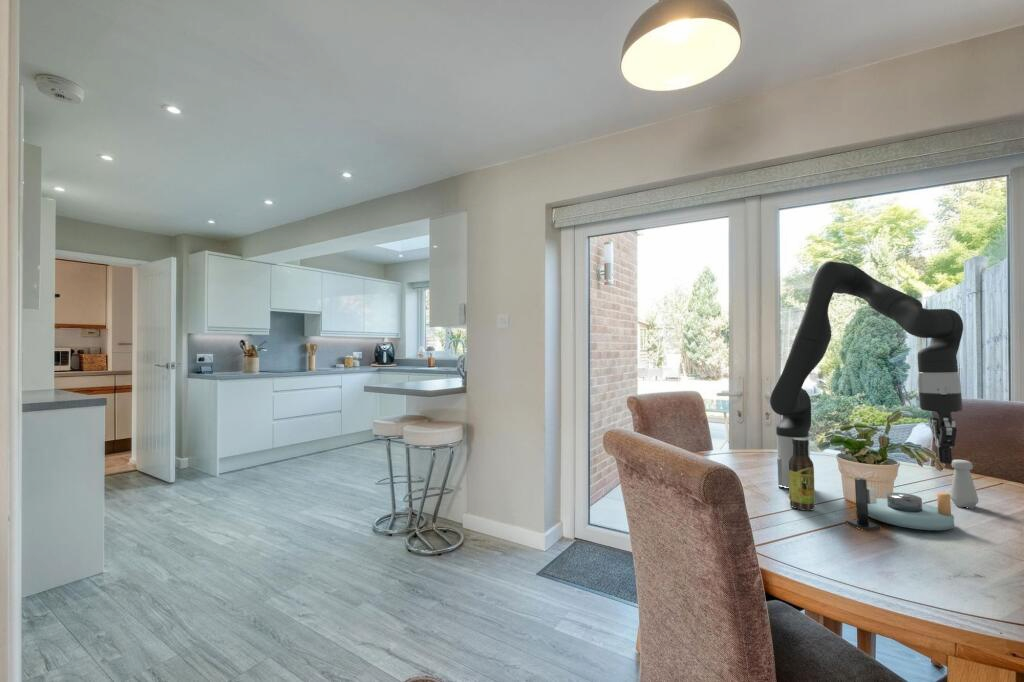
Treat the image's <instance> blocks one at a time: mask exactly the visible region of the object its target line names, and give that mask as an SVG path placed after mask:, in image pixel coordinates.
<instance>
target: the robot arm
mask: <svg viewBox="0 0 1024 682" xmlns="http://www.w3.org/2000/svg"><path fill="white" fill-rule="evenodd" d="M834 294H840V295H844V294H846V295H849V296H854V297H856V298H859V299H862V300H864V301H865V302H866V303H867V304H868V305H869V306H870V307H871V308H872V309H873V310H874V311H876V312H877V313H879V314H881V315H883V316H885V317H886V318H889V319H891V320H892V321H895V322H896V323H897V325H898V326H899V327H901V328H902V329H903V330H904V331H905V332H906V333H908V334H910V335H911V336H914V337H917V338H921V339H930V342H929V346H927V347H925V348H922V349H920V350H919V351H918V352H917V368H918V369H917V370H918V376H917V377H918V378H917V384H918V385H917V386H918V387H917V388H918V399H919V409H920V410H922V411H926V412H931V417H928V419H929V420H928V424H929V427H930V428H929V429H930V431H931V436H932V441H933V443H934V444H935V447H936V449H937V451H936V452H937V461H938V462H939V463H940V464H944V465H945V464H946V465H952V461H953V456H952V449H953V448H954V447H955V443H956V438H957V431H958V429H957V427H956V420H955V419H954V418H952V413H957V412H962V410H963V398H962V396H963V395H962V386H961V379H960V376H959V375H960V374H959V367H958V365H959V364H958V356H957V355H958V350H959V349H960V344H961V340H962V337H963V331H964V322H963V320H962V317H961V315H960V314H959V313H958V312H957V311H955V310H954V309H951V308H934V309H933V308H932V309H931V308H930V309H929V308H923V306H924V305H923V304H922V302H921V301H920V300H919V299H918V298H915V297H914V296H911V295H909V294H907V293H904V292H902V291H900V290H897V289H896V288H893V287H892V286H889V285H887V284H884V283H882V282H880V281H878V280H877V279H875V278H874V277H872V276H870V274H868V273H867V272H866V271H863V269H861V268H859V267H858V266H856V265H854V264H851V263H846V262H839V261H832V260H830V261H825V262H823V263H822V264H820V265H819V266H818V268H817V269H816V271H815V273H814V276H813V279H812V283H811V287H810V292H809V296H808V299H807V302H806V306H805V310H804V312H803V314H802V315H803V316H802V319H801V322H800V324H799V326H798V329H797V332H796V334H795V336H794V340H793V342H792V345H791V348H790V351H789V354H788V356H787V359H786V362H785V364H784V367H783V370H782V372H781V375H780V376H779V378H778V381H777V383H776V385H775V386H774V387H773V390H772V392H771V394H770V397H769V398H770V399H769V403H770V407H771V409H772V411H773V412H774V413H776V414H777V415H779V416H782V419H781V420H780V423H779V424H777V426H776V428H775V431H776V433H775V434H776V449H777V450H776V451H777V452H776V453H777V457H776V458H777V459H776V461H777V463H776V464H777V482H778V485H782V486H786V487H789V460H790V459H791V457H792V455H793V443H792V439H793V438H804V439H808V440H809V441H810V429H811V427H812V400H811V397H810V395H809V393H808V391H806V390H805V389H804V388H803V385H804V383H805V381H806V379H807V378H808V377H809V375H810V374H811V373H812V371H814V369H815V368H816V367H817V366H818V365H819V363H820V362H821V360H823V359H824V356H825V355H826V352H827V349H828V347H829V345H830V342H831V340H832V327H831V323H830V318H829V306H830V303H831V300H832V297H833V295H834ZM810 451H811V450H810V444H809V445H808V453H809V454H808V456H809V458H810V459H811V455H810Z"/></svg>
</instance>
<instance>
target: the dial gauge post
mask: <svg viewBox="0 0 1024 682" xmlns="http://www.w3.org/2000/svg"><path fill="white" fill-rule="evenodd" d="M867 483H868V482H867V478H863V477H862V478H861V477H855V478H854V490H855V491H854V492H855V509H856V519H849V520H848V519H846V520H845V524H846V523H848V524H850V525H849V526H851V525H852V526H851V527H853V526H855V527H854V528H856V527H858V528H860V529H859V530H861V529H863V530H867V531H873V530H872V529H876V530H881V529H882V527H881V525H880V524H877V523H874V522H872V521H869V516H868V504H876V503H877V499H878V498H877V489H876V488H873V487H870V486H868V484H867ZM848 524H847V525H848ZM858 528H857V529H858ZM863 530H862V531H863Z"/></svg>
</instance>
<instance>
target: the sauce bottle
mask: <svg viewBox="0 0 1024 682" xmlns="http://www.w3.org/2000/svg"><path fill="white" fill-rule="evenodd" d="M792 443H793V455H792V457H791V459H790V460H789V489H788V495H789V496H788V497H789V498H788V499H789V505H791V506H793V507H792V508H794V507H796V508H799V509H798V510H801V509H804V510H803V511H813V510H815V508H816V507H815V502H816V494H815V492H816V491H815V466H814V462H813V461H812V459H811V457H810V458H809V456H808V454H809V453H808V445H809V446H810V439H809V440H808V439H804V438H793V439H792ZM791 506H790V507H791ZM796 508H795V509H796ZM812 509H813V510H812Z"/></svg>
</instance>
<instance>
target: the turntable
mask: <svg viewBox="0 0 1024 682" xmlns="http://www.w3.org/2000/svg"><path fill="white" fill-rule="evenodd" d="M936 497H937V506H935V505H934V506H933V505H930V504H928V503H927V504H926V503H923V502H922V512H917V513H913V512H904V511H899V510H895V509H892V508H890V507H888V505H887V498H880V497H879V498H878V497H877V498H876V499H877V503H876V504H868V518H869V517H870V518H872V519H874V520H877V521H878V522H879V521H880V522H882V523H885V524H889V525H893V526H897V527H903V528H908V529H914V530H915V529H916V530H922V531H944V530H945V531H946V530H951V529H953V528H954V527H955V517H954V514H952V506H951V505H952V504H951V498H950V493H946V492H937V493H936Z"/></svg>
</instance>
